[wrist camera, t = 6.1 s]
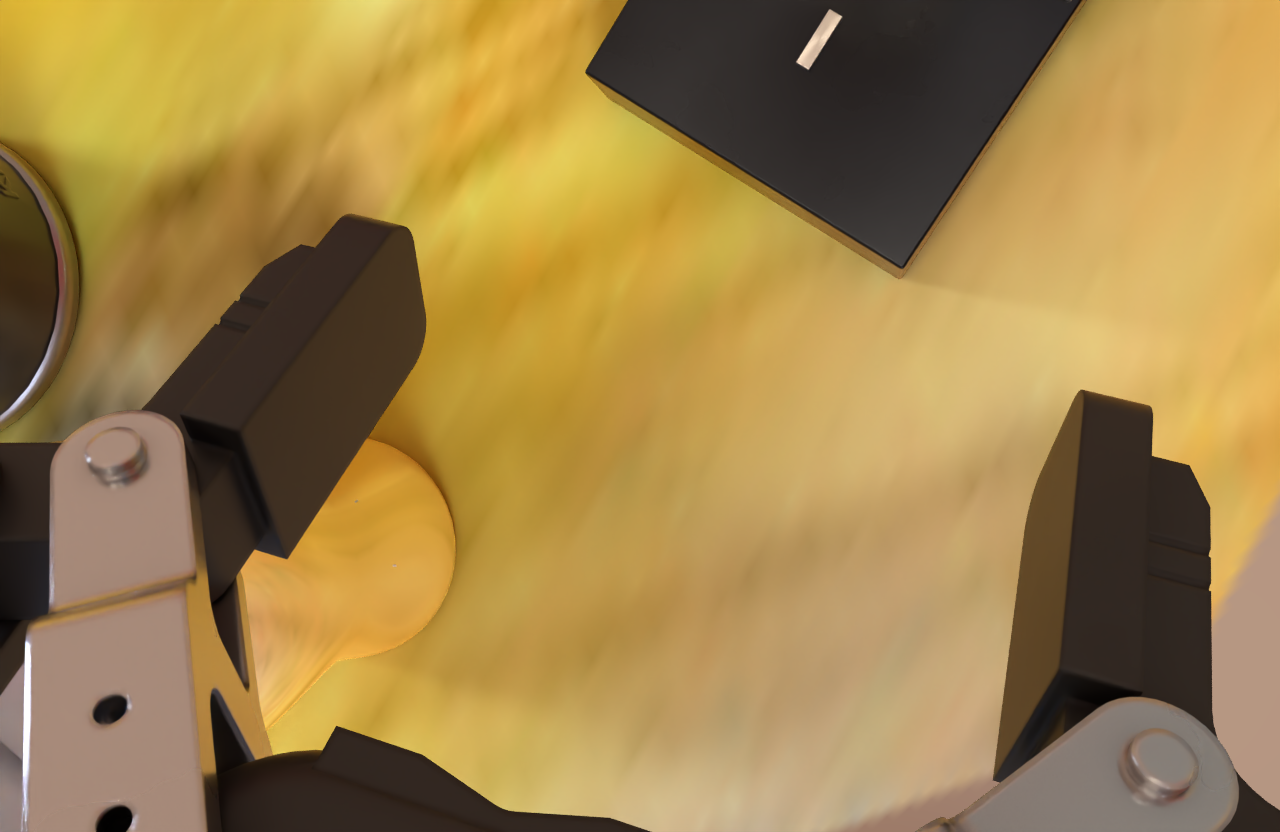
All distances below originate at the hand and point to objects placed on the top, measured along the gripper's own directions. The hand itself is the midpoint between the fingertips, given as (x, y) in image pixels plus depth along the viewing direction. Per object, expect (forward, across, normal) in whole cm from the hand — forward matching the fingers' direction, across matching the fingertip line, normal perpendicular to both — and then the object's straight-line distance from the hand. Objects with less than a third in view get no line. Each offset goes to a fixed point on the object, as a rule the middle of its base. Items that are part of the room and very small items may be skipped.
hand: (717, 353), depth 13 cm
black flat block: (+18, +1, +4) cm, 18 cm away
